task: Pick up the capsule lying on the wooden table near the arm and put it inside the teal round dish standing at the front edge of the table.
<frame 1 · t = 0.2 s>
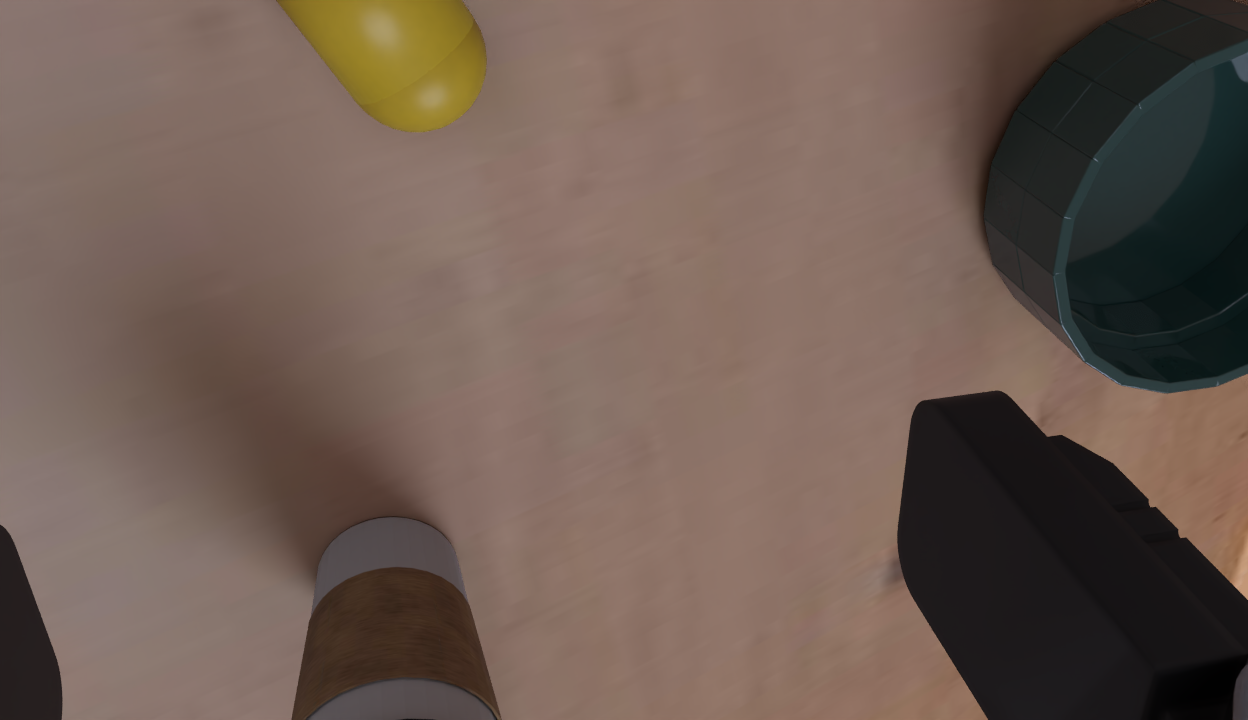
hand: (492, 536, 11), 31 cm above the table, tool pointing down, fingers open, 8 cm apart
coffee cup: (388, 568, 50), on the table
teal round dish: (1139, 168, 47), on the table
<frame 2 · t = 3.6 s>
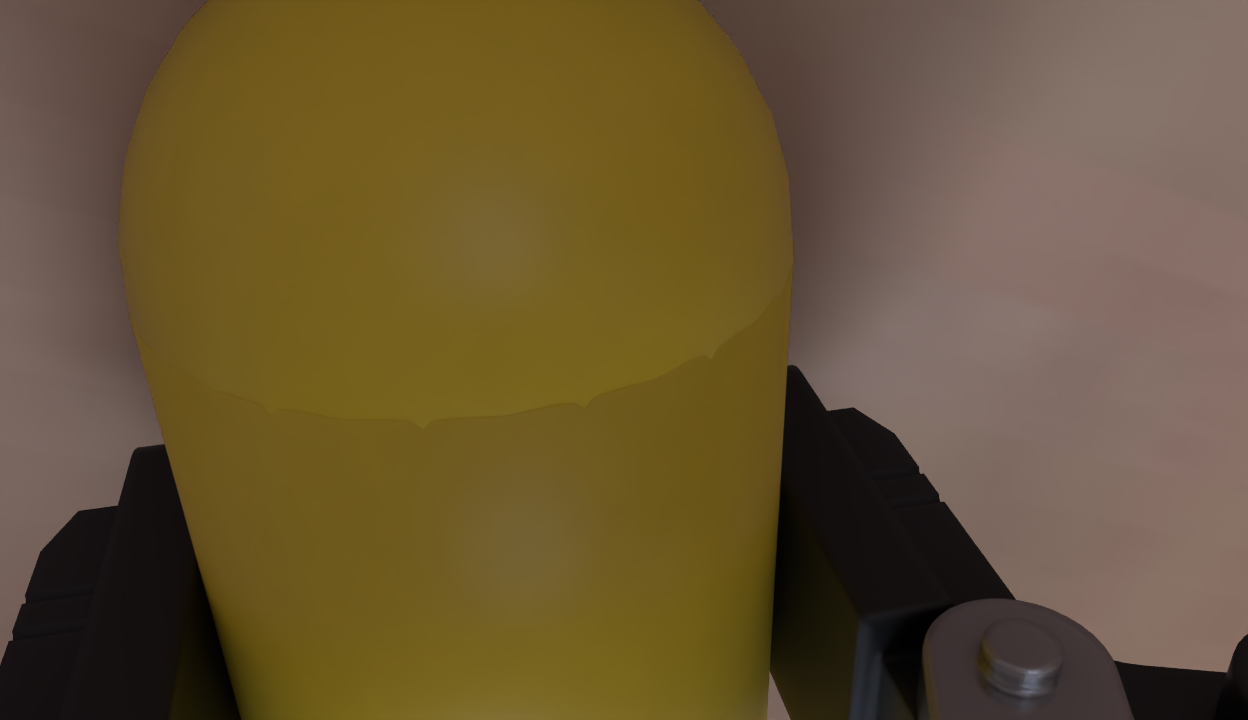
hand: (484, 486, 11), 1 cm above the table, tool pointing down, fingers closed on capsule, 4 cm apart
capsule: (647, 431, 11), point 1 cm above the table, tilted 43°, touching gripper
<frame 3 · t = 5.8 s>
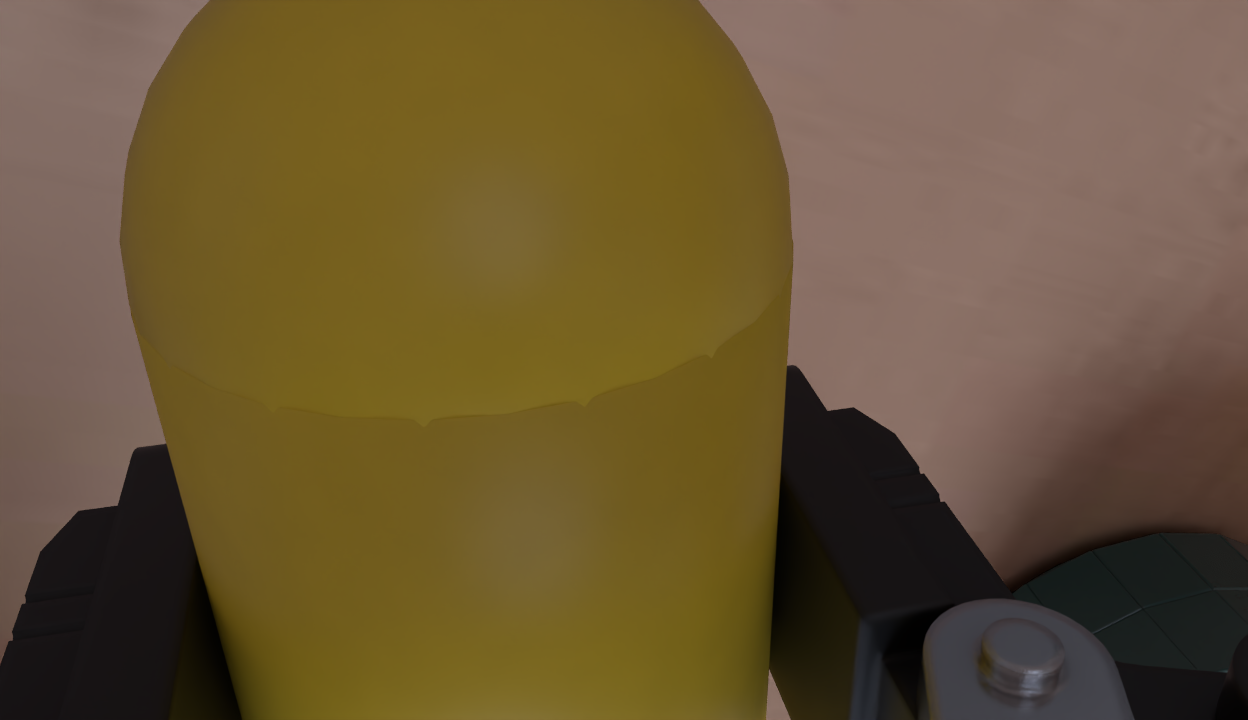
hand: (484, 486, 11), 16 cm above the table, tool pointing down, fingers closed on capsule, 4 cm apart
capsule: (647, 430, 12), point 15 cm above the table, tilted 46°, touching gripper
teal round dish: (1095, 687, 40), on the table
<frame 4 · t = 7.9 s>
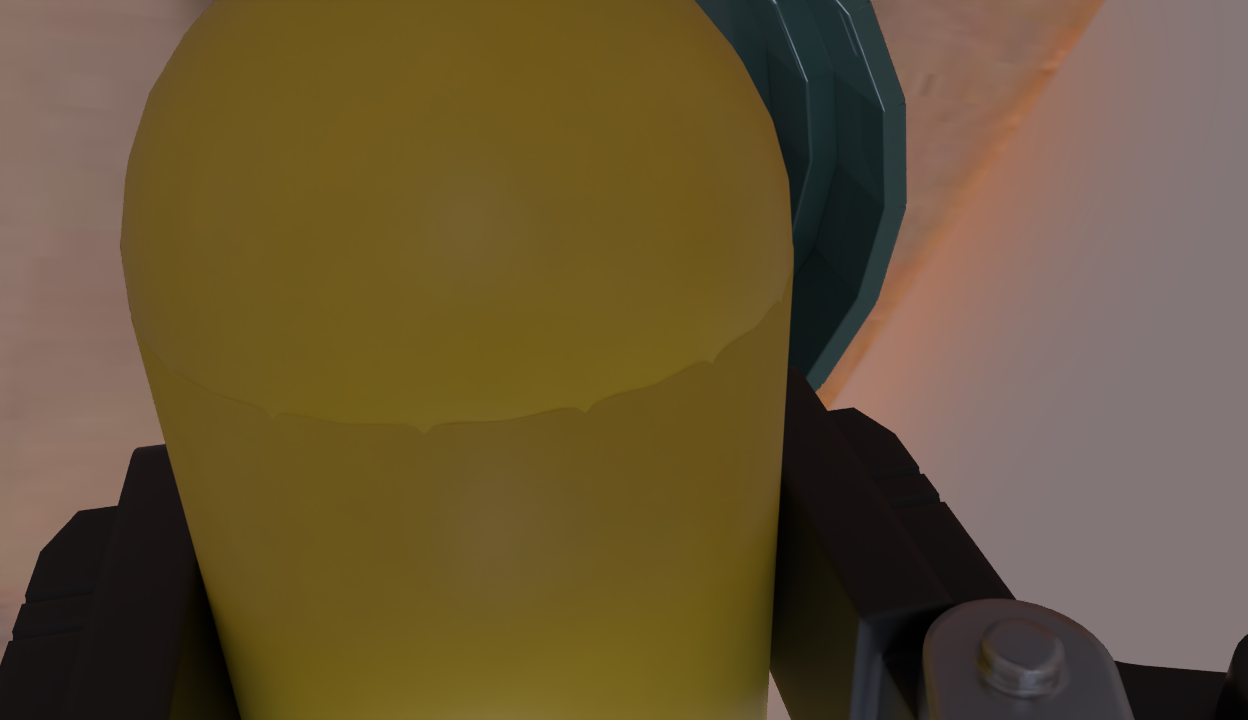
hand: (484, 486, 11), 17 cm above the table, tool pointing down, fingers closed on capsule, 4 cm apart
capsule: (647, 434, 12), point 17 cm above the table, tilted 45°, touching gripper
teal round dish: (524, 127, 28), on the table
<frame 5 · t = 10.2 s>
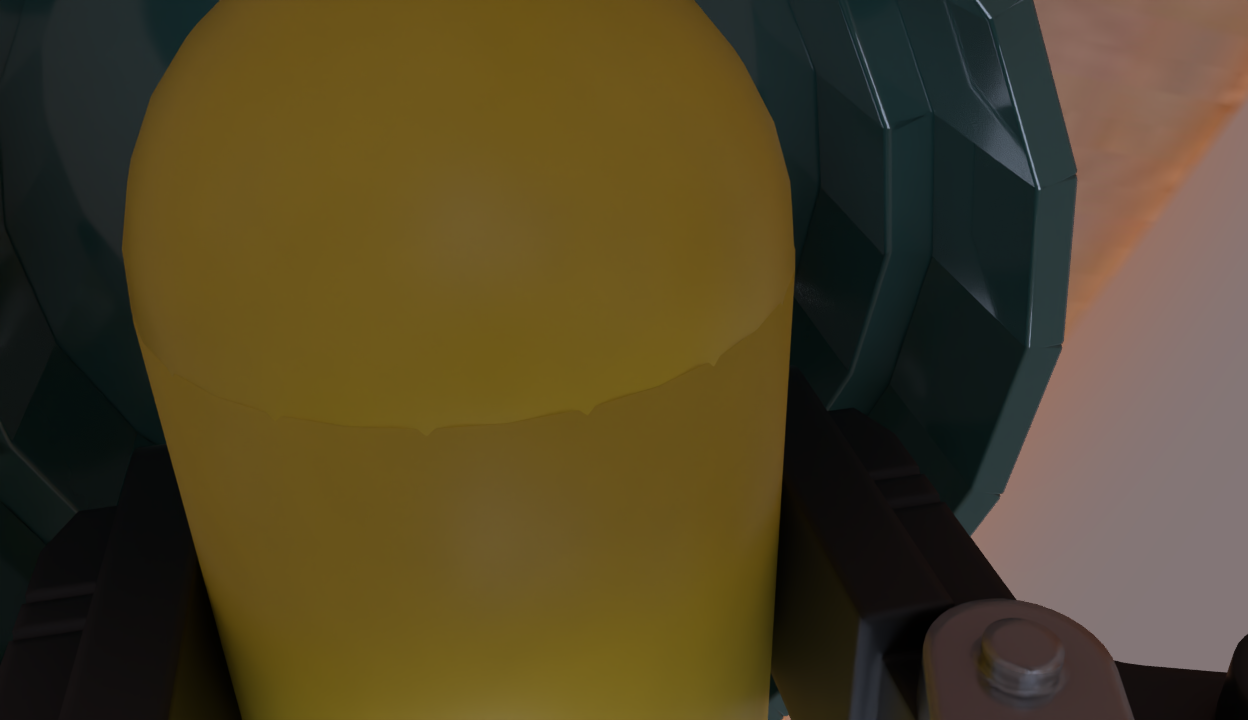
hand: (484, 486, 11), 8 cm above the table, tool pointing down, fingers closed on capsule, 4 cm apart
capsule: (648, 435, 12), point 7 cm above the table, tilted 45°, touching gripper
teal round dish: (436, 189, 18), on the table
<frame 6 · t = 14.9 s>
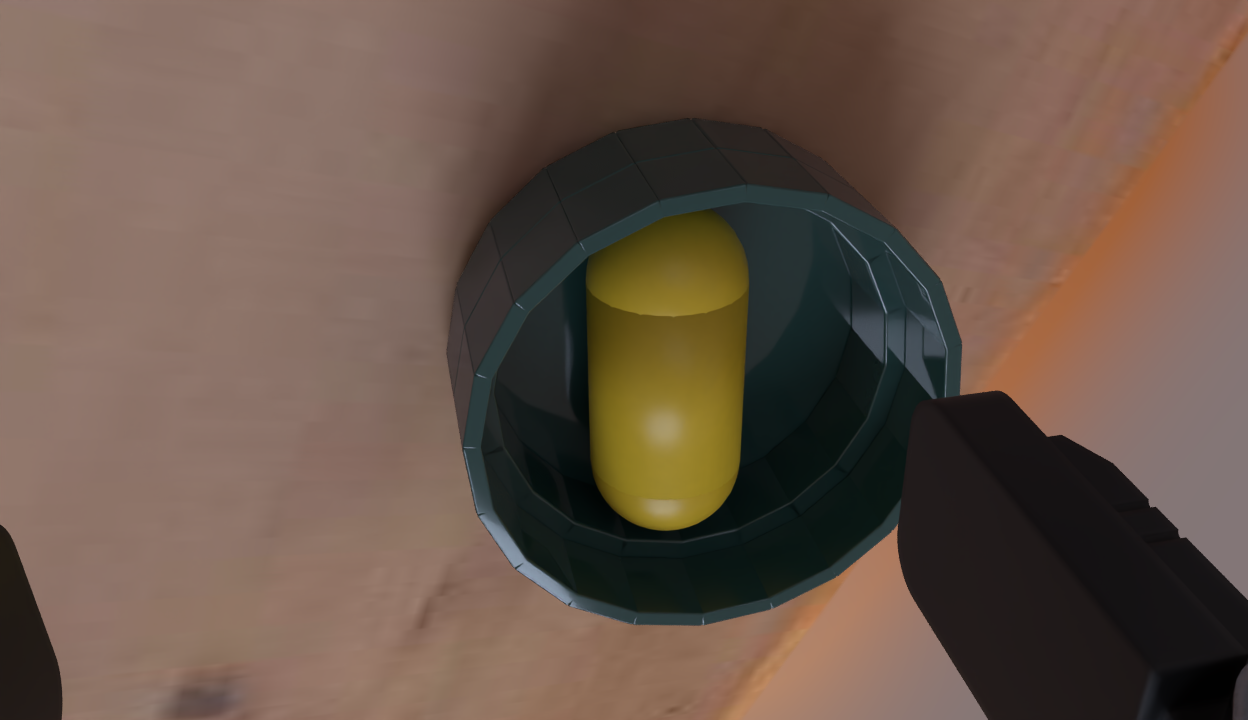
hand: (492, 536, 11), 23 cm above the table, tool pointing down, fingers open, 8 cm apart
capsule: (725, 348, 35), point 2 cm above the table, tilted 66°, touching teal round dish
teal round dish: (669, 328, 37), on the table
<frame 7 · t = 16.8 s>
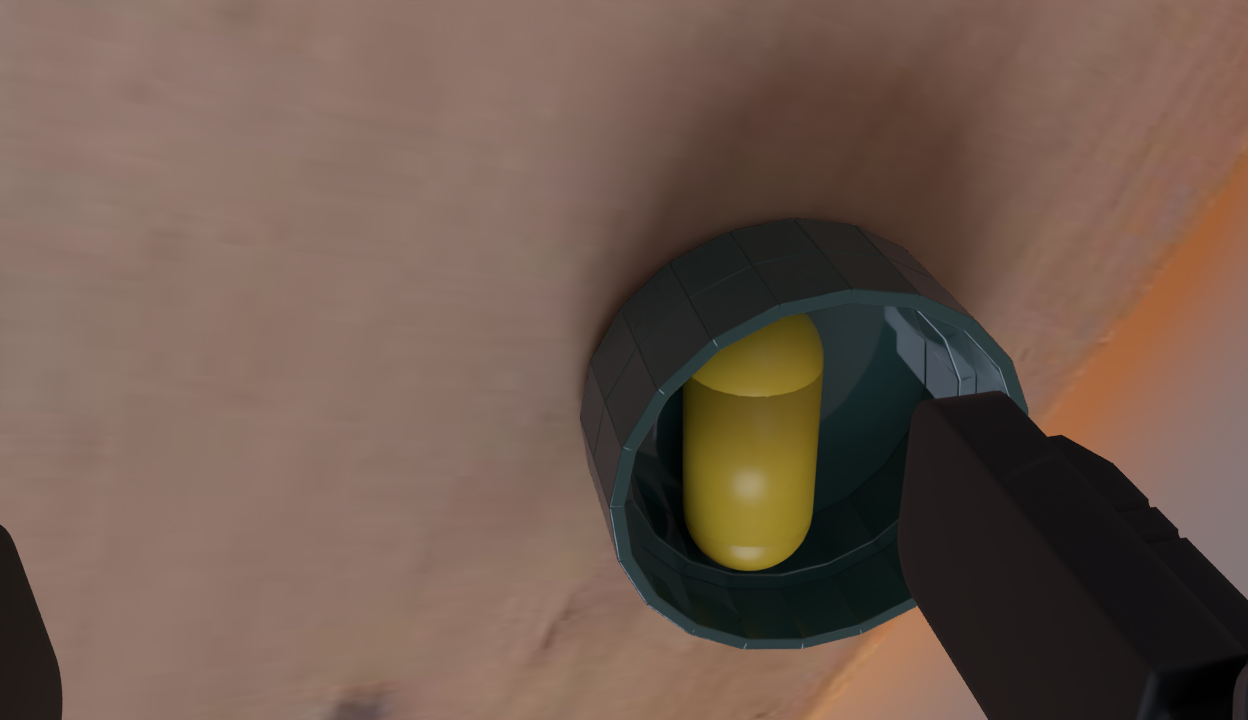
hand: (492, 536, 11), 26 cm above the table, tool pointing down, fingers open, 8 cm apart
capsule: (811, 422, 40), point 3 cm above the table, tilted 84°, touching teal round dish
teal round dish: (767, 390, 43), on the table
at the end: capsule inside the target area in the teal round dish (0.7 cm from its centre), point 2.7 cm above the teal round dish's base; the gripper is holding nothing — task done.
